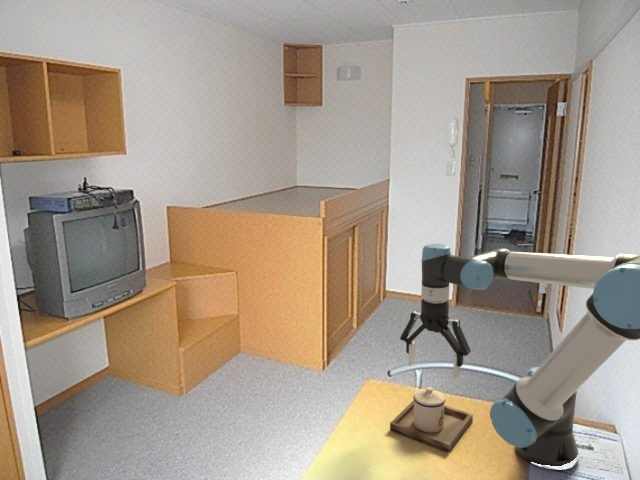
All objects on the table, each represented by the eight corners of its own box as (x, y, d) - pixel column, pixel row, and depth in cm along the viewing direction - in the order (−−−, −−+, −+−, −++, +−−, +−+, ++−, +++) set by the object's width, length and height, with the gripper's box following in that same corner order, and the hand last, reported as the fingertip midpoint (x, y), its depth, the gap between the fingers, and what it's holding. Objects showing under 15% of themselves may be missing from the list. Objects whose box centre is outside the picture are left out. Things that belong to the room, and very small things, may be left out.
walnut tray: (472, 421, 144) (472, 414, 143) (449, 453, 130) (449, 444, 129) (417, 403, 154) (417, 396, 154) (390, 430, 140) (390, 423, 140)
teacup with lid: (445, 435, 136) (447, 397, 134) (413, 432, 137) (413, 395, 135) (442, 411, 147) (443, 376, 145) (411, 410, 149) (412, 375, 147)
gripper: (388, 295, 139) (388, 363, 143) (474, 311, 124) (471, 387, 128) (401, 289, 144) (400, 354, 149) (484, 303, 130) (481, 376, 134)
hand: (433, 370), depth 138 cm, fingers open, 13 cm apart
